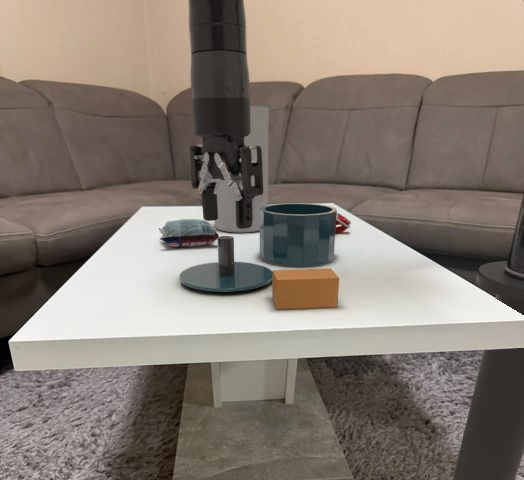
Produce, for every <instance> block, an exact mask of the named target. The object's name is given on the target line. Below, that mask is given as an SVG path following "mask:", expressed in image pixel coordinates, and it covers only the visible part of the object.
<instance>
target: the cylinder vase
mask: <svg viewBox="0 0 524 480" xmlns="http://www.w3.org/2000/svg"><path fill="white" fill-rule="evenodd" d="M269 115H270V108H269V106H260V105H259V106H257V105H256V106H255V105H253V106H252V105H250V125H251V132H250V134H249V135H248V136H245V137H244V143H245V146H260V147H261V150H262V170H263V194H262V195H258V196H256V197H255V198H254V199H253V201H252V209H253V212H252V213H253V221H252V226H251V227H250V228H245V229H239V228H237V226H236V204H235V201H237V199H236V197H235V195H234V193H233V190H232V188H231V187H229V186H228V185H227V184H226V181H225V180H222V181H221V182H219V184H218V187H217V190H216V192H215V193H214V194H217V206H218V219H217V220H213V221H214V228H216V230H217V231H221V232H226V233H237V234H238V233H239V234H241V233H244V234H245V233H246V234H247V233H256V232H260V208H261V207H263V206H267V205H269V152H270V151H269V147H270V146H269V142H270V141H269V139H270V138H269V136H270V135H269V131H270V129H269V124H270V123H269V122H270V119H269V117H270V116H269ZM239 176H241V174H239ZM251 185H252V186H255V179H254V176H251ZM240 188H241V190H243V186H242V185H240Z"/></svg>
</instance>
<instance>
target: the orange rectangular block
mask: <svg viewBox="0 0 524 480" xmlns="http://www.w3.org/2000/svg"><path fill="white" fill-rule="evenodd" d="M271 271H272V281H271V283H272V284H271V285H272V286H271V295H272V296H271V299H272V301H273V305H274V307H275V309H276V311H278V310H279V311H280V310H303V309H329V308H338V301H339V289H340V277H339V275H337V273H336V272H335V271H334V270H333V269H332V268H331V267H330V268H301V269H300V268H298V269H273V270H271Z"/></svg>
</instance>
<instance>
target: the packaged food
mask: <svg viewBox="0 0 524 480" xmlns="http://www.w3.org/2000/svg"><path fill="white" fill-rule="evenodd" d="M157 228H158V230H159V233H160V234H162V236H161V237H160V238H159V241H162V242H164V243H165V244H166V245H168V246H169V247H173V248H174V247H178V248H182V247H183V248H184V247H185V248H186V247H187V248H188V247H200V246H206V245H210V244H212V243H214V242H215V241H217V238H218V237H220V235H219V233H218V232H217V231H218V229H217V228H216V227H213V226H212V224H211V223H210V222H209V221H206V220H204V219H198V218H181V219H176V220H169V221H168V220H167V221H166V222H165V224H164V226H162V227H161V228H160V227H157Z"/></svg>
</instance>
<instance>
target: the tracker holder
mask: <svg viewBox="0 0 524 480" xmlns="http://www.w3.org/2000/svg"><path fill="white" fill-rule="evenodd" d="M351 224H352V222H351V220H350V219H349V218H347V217H346V216H344V215H343V214H341V213H339V212H337V216H336V230H335V234H336V233H337V234H338V233H343V232H345V231H347V230H348V229H350V228H351Z"/></svg>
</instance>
